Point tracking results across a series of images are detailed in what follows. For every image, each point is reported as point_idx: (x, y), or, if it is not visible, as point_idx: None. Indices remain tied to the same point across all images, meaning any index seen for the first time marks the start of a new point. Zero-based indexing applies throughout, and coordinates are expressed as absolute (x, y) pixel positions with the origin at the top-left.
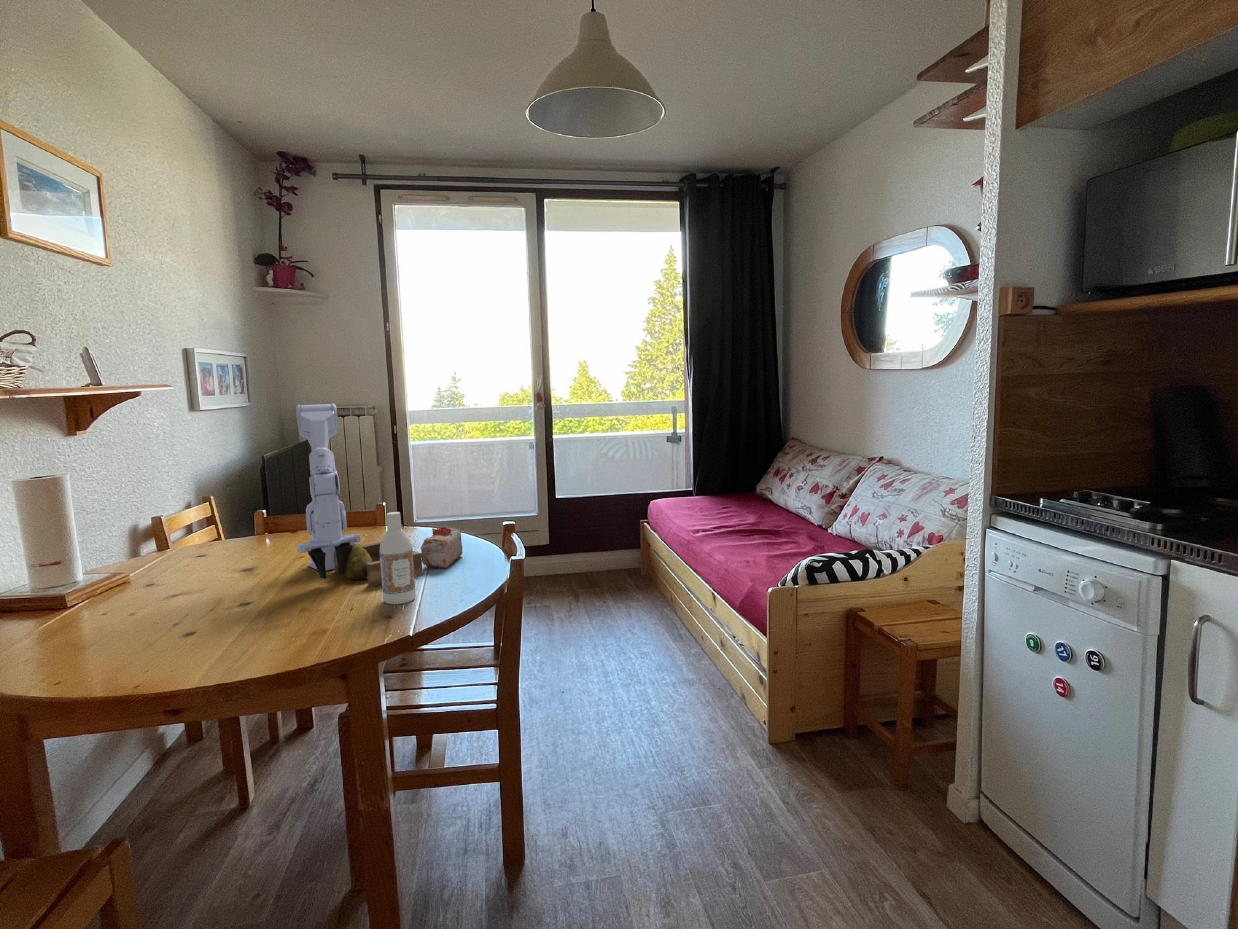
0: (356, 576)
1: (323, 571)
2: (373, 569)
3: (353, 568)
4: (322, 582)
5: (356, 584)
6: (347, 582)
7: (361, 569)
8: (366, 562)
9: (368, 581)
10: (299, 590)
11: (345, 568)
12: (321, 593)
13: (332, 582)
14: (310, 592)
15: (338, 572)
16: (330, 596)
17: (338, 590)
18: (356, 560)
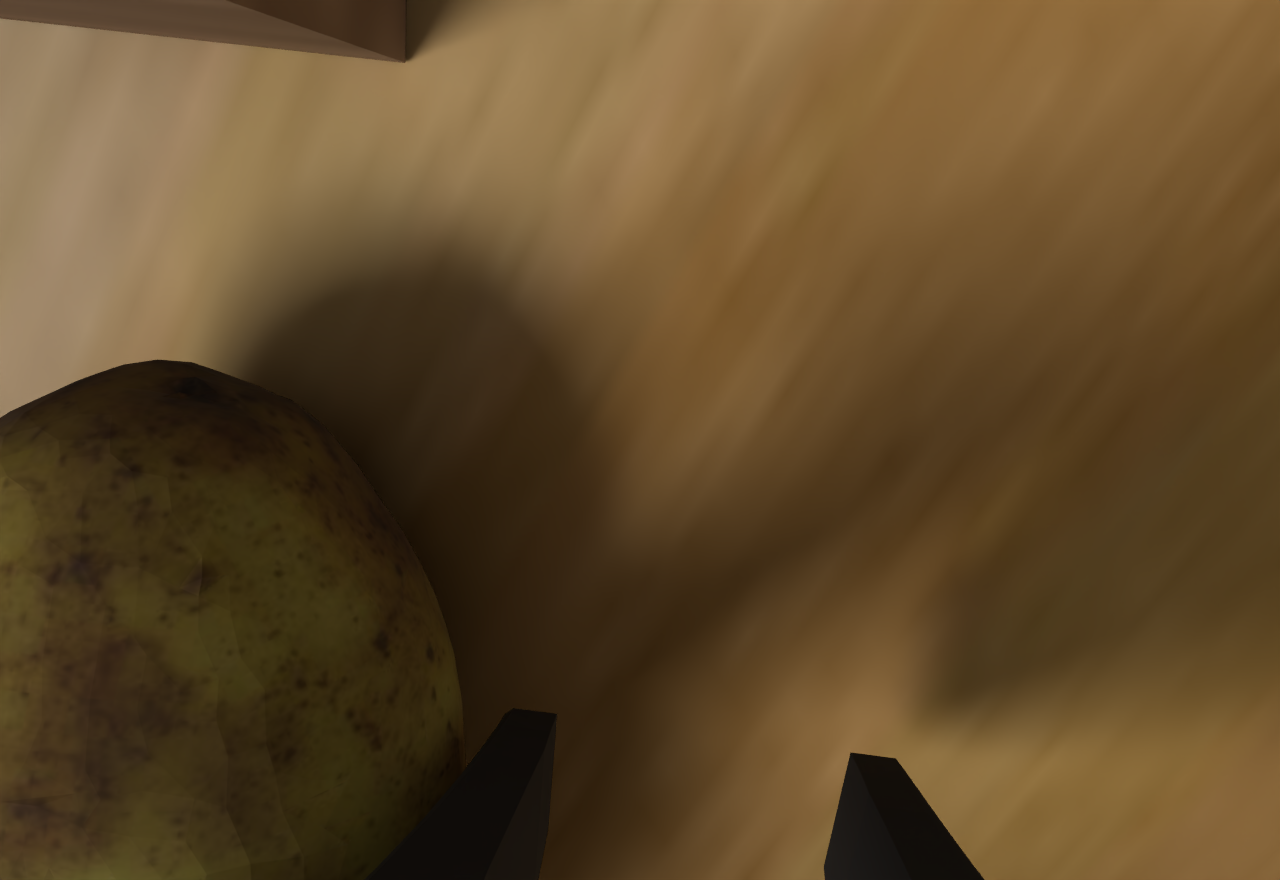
0: (385, 515)
1: (950, 852)
2: None
3: (349, 639)
4: (744, 865)
5: (500, 340)
6: (533, 570)
7: (247, 467)
8: (6, 548)
9: (373, 18)
10: (1152, 816)
11: None
12: (1124, 399)
13: (666, 755)
14: (1158, 602)
15: (543, 843)
16: (1190, 71)
17: (873, 295)
18: (152, 790)
